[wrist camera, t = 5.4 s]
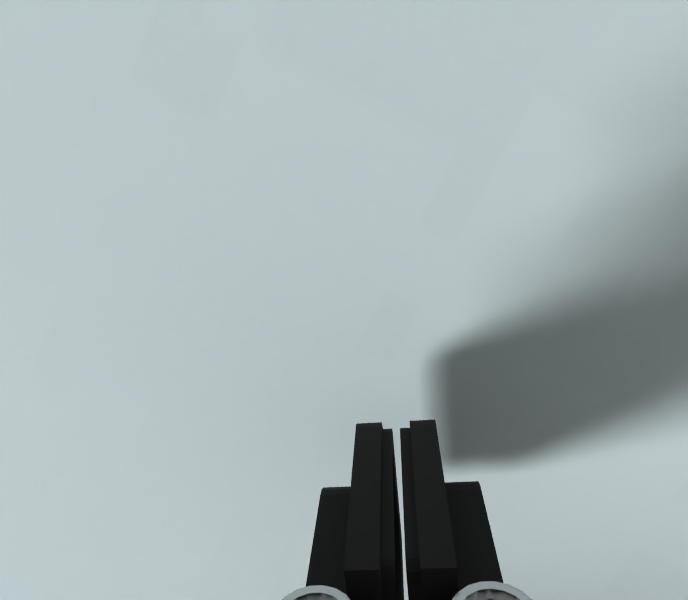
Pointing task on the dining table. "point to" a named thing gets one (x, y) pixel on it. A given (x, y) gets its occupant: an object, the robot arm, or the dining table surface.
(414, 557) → the robot arm
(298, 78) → the dining table surface
